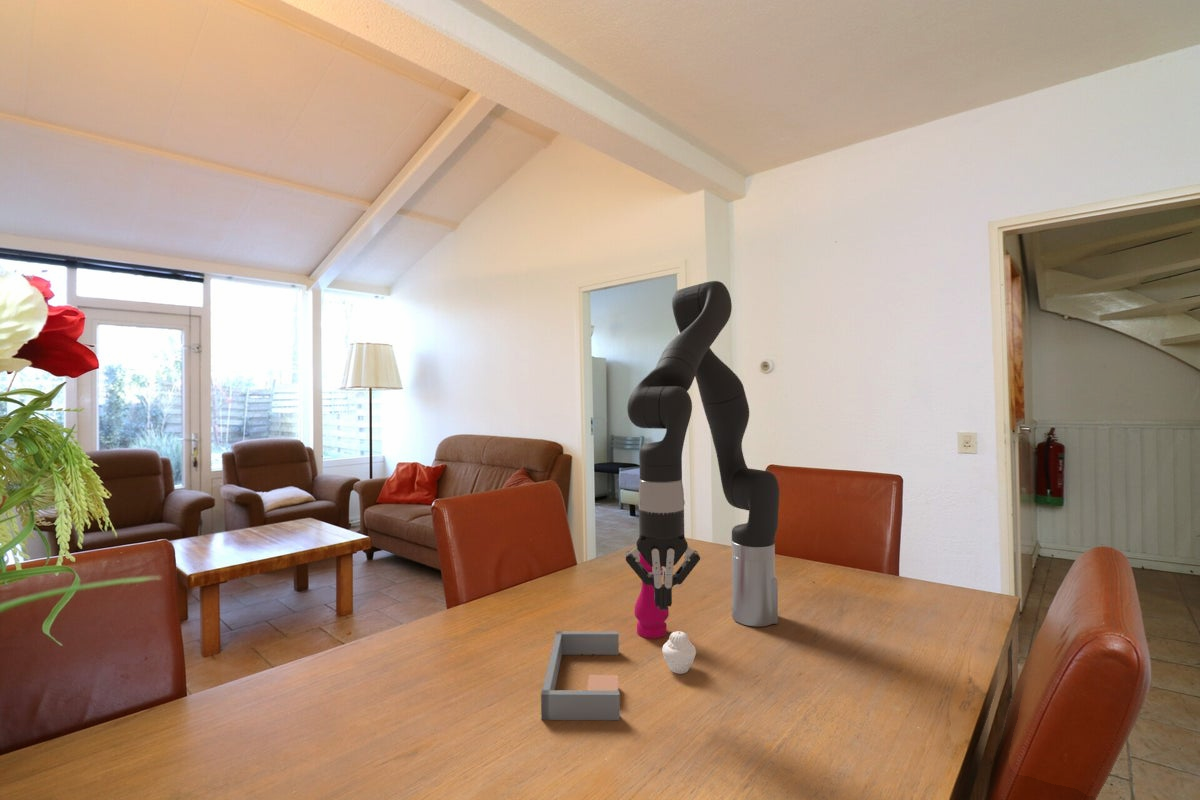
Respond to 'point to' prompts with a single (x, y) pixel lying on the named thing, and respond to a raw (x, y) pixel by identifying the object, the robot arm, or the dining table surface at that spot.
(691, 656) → the white rounded ceramic piece
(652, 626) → the pepper mill
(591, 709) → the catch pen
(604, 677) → the block
